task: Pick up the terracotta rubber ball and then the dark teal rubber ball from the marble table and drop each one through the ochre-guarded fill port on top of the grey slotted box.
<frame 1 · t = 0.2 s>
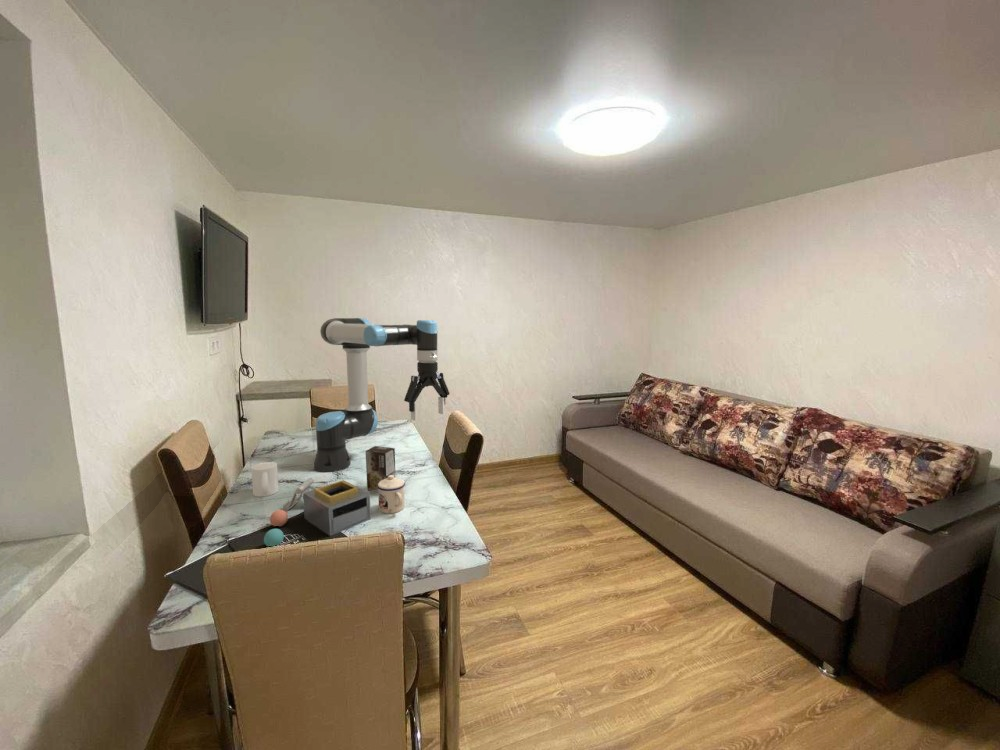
hand: (428, 416, 157), 28 cm above the table, fingers open, 13 cm apart
coffee box: (381, 490, 157), on the table
portable electronic device stand: (301, 506, 144), on the table
ball terracotta: (279, 525, 130), on the table
mug: (266, 494, 153), on the table
teacup with lid: (393, 510, 141), on the table
ball teal: (274, 546, 118), on the table
grey slotted box: (337, 519, 134), on the table
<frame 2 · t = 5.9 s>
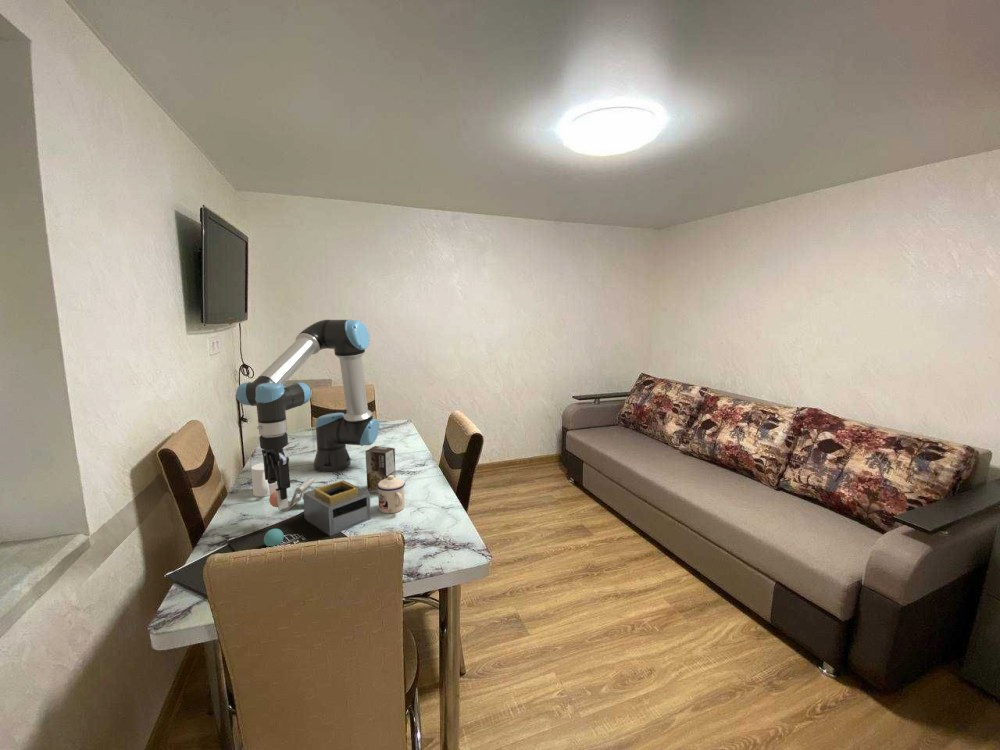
hand: (279, 505, 129), 7 cm above the table, fingers closed on ball terracotta, 5 cm apart
ball terracotta: (279, 506, 129), point 6 cm above the table, touching gripper
everything else where it was.
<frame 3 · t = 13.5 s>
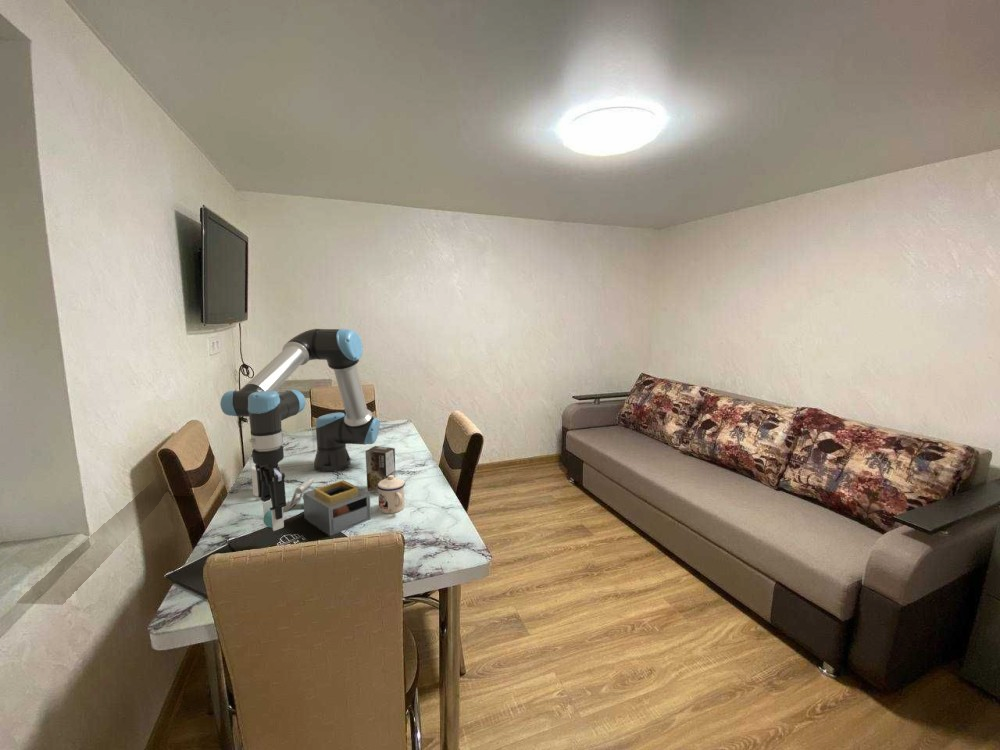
hand: (274, 525, 118), 6 cm above the table, fingers closed on ball teal, 5 cm apart
ball terracotta: (337, 513, 133), point 2 cm above the table, tilted 63°, touching grey slotted box
ball teal: (274, 526, 118), point 6 cm above the table, touching gripper
everything else where it was.
when the fingers open (12 cm above the table, at t = 15.9 s): ball teal drops 7 cm and tips over, resting on grey slotted box.
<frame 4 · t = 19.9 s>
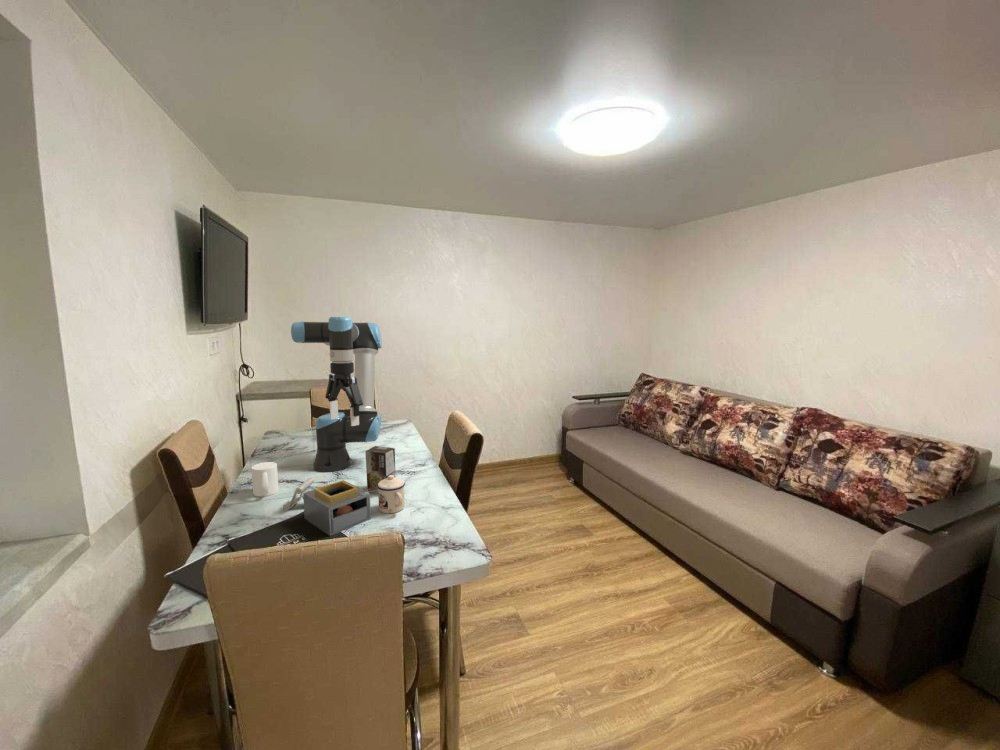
hand: (344, 422, 145), 29 cm above the table, fingers open, 13 cm apart
ball terracotta: (341, 509, 133), point 4 cm above the table, tilted 97°, touching grey slotted box
ball teal: (348, 502, 137), point 4 cm above the table, tilted 111°, touching grey slotted box
everything else where it was.
at the end: ball terracotta inside the target area on the grey slotted box (1.7 cm from its centre), point 3.6 cm above the grey slotted box's base; ball teal inside the target area on the grey slotted box (4.2 cm from its centre), point 4.2 cm above the grey slotted box's base; the gripper is holding nothing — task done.
